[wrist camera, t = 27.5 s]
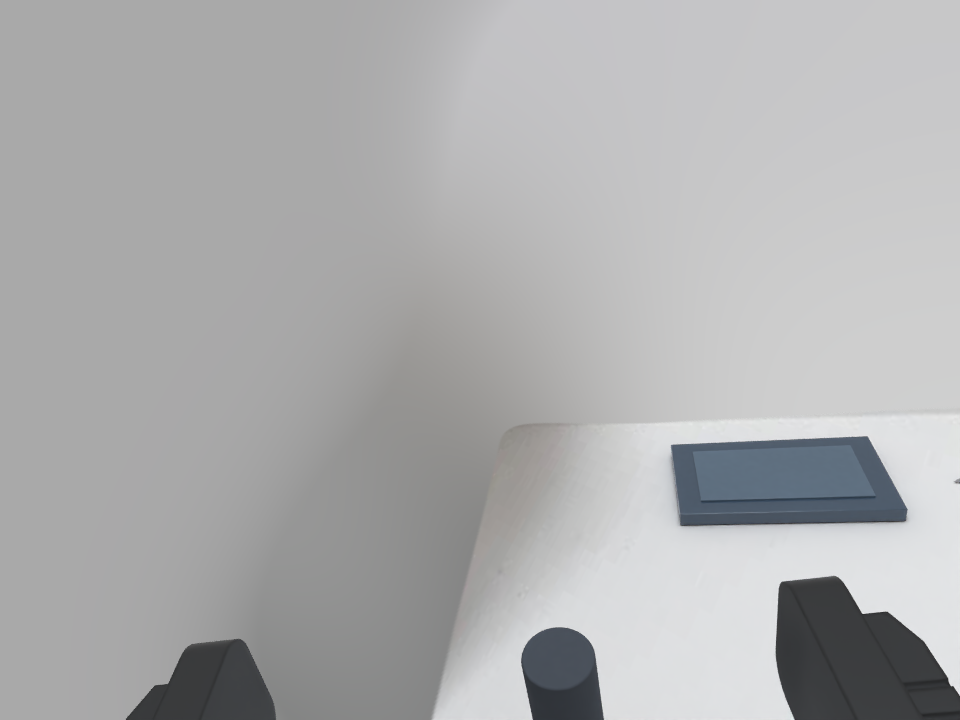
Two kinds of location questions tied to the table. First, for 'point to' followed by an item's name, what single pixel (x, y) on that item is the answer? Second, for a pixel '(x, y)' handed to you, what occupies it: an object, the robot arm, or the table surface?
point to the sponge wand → (561, 676)
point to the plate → (784, 482)
